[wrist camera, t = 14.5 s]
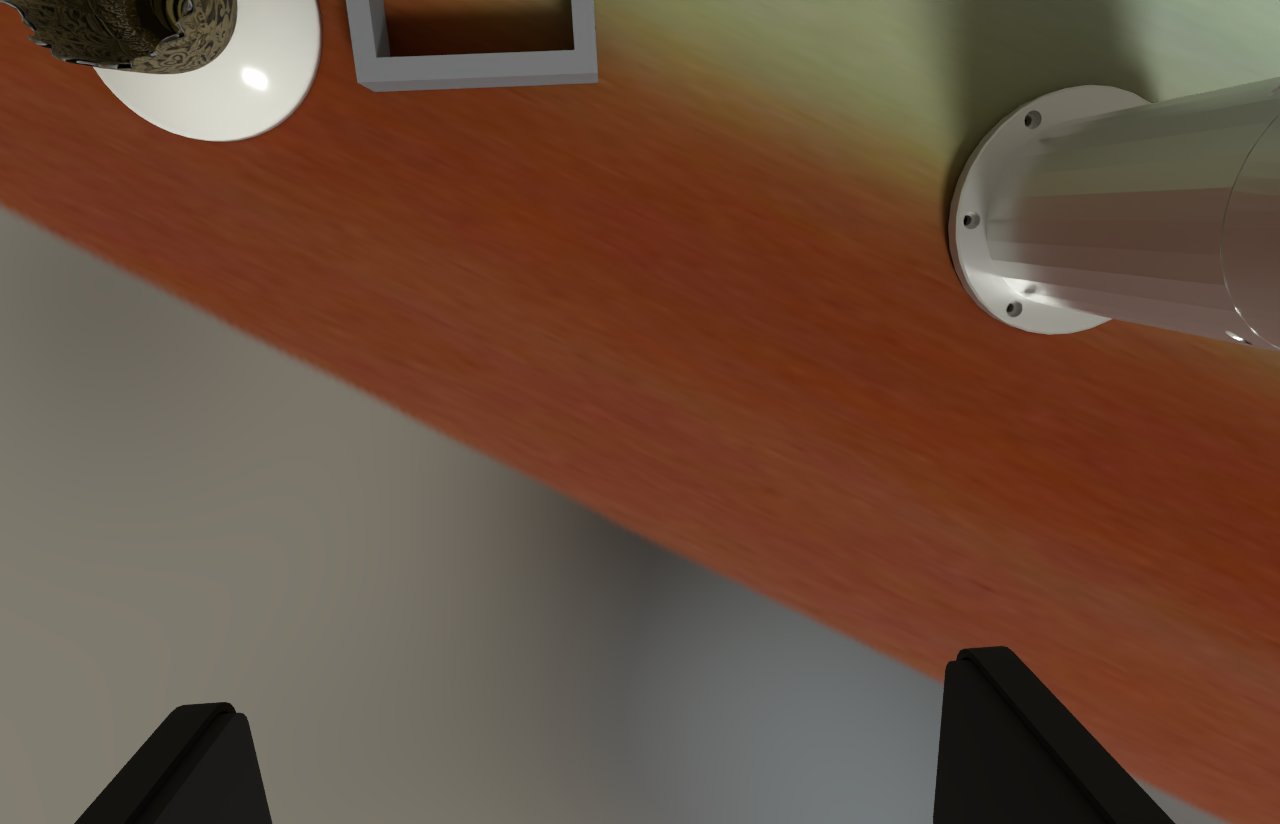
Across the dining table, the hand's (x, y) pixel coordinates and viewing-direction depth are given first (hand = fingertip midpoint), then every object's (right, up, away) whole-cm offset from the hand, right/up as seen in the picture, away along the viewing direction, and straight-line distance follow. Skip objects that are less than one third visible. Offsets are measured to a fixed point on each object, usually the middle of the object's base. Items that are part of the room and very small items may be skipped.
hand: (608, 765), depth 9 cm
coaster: (-20, +23, +24) cm, 39 cm away
